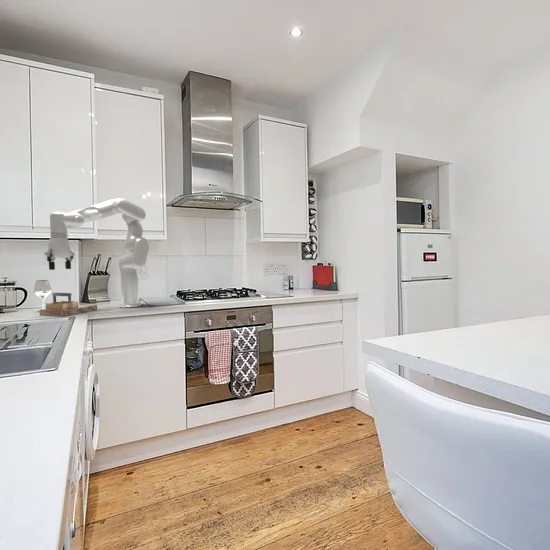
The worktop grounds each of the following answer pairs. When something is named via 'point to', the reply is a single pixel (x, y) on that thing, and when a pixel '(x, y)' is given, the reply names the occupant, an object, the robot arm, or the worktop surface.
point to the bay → (67, 311)
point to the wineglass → (42, 289)
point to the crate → (61, 303)
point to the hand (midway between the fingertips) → (60, 269)
